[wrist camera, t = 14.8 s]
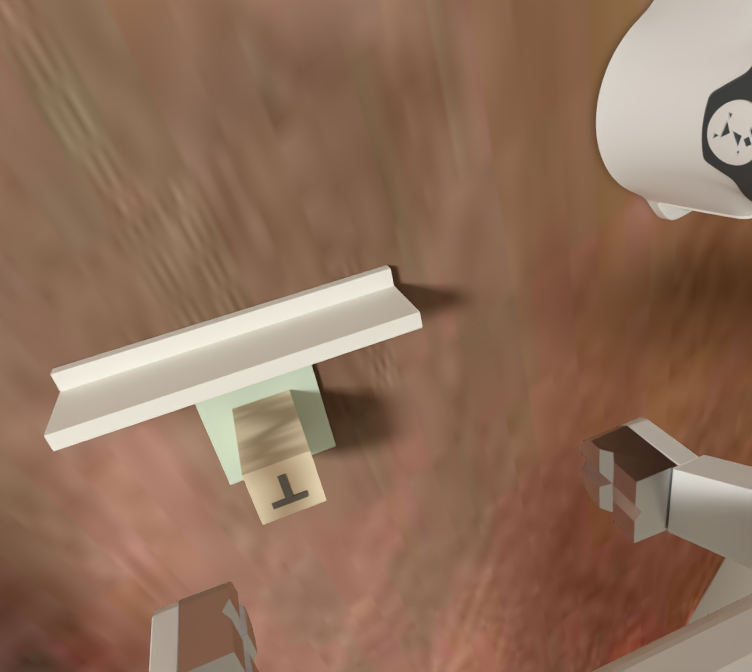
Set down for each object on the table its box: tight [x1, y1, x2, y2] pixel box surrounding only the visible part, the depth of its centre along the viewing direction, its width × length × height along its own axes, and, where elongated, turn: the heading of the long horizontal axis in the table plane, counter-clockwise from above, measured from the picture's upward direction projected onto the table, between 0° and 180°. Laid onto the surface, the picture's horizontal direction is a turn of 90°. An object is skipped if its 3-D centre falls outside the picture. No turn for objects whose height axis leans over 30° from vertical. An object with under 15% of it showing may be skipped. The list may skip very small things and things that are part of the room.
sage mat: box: [195, 365, 336, 485], centre depth 44 cm, size 9×9×1 cm
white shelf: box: [44, 265, 422, 451], centre depth 38 cm, size 24×4×6 cm, turn 101°
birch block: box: [232, 390, 326, 525], centre depth 40 cm, size 4×4×8 cm
